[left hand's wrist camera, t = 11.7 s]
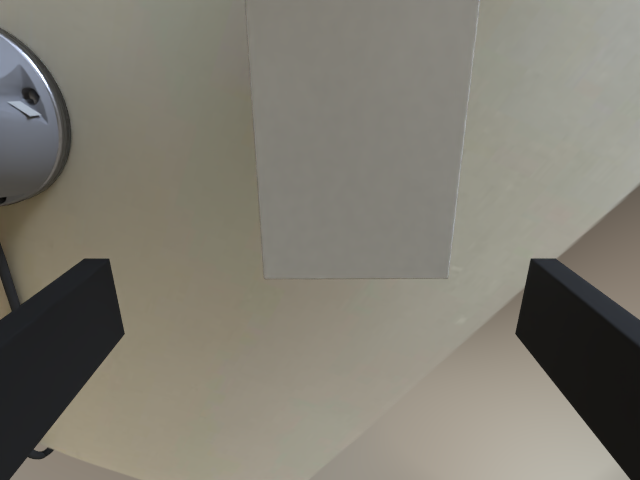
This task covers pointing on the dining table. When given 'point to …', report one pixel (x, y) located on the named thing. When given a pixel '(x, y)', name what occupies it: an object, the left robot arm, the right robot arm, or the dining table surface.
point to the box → (359, 133)
